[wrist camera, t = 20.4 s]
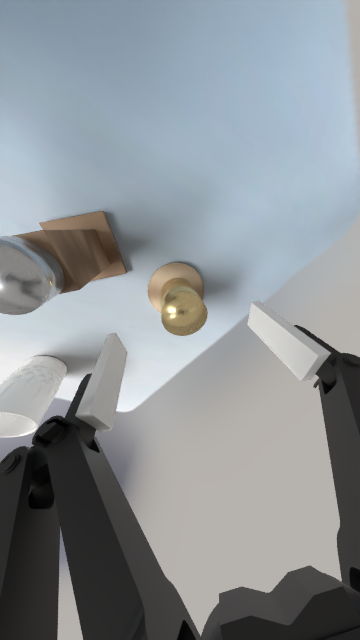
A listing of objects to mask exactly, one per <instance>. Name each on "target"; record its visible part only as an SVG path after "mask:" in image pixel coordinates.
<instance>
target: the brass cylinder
mask: <svg viewBox="0 0 360 640" xmlns="http://www.w3.org/2000/svg"><path fill="white" fill-rule="evenodd" d="M160 301H161V315H162V323H163V326H164V327H165V329H166V330H167V331H169V332H170V333H172V334H174V335H179V336H185V335H190V334H193V333H195V332H197V331H198V330H199V329H200V328H202V326H203V325H204V324H205V322H206V319H207V308H206V306H205V305H204V303H203V301H202V300H201V298H200V297H199V295H198V294H197V292H196V291H195V289H194V288H193V286H192V284H191V283H190V282H189V281H187V280H186V279H183V278H173V279H170V280H168V281H167V282H166V283H165V284H164V285H163V286H162V288H161V291H160Z"/></svg>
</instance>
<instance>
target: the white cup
mask: <svg viewBox="0 0 360 640" xmlns="http://www.w3.org/2000/svg"><path fill="white" fill-rule="evenodd" d="M66 373H67V367H66V365H65V364H64V363H63V362H62V361H60V360H58V359H56V358H53V357H49V356H35V357H32V358H29V359H28V360H27V361H26V362H25V363H24V364H23V365H22V366H21V367H19V368H18V369H17V370H16V371H15V372H13V373H12V374H11V375H10V376H9V377H7V378H6V379H5V380H4V381H3V382H2V383H1V384H0V437H18V436H23V435H27V434H30V433H32V432H34V431H35V430H36V429H37V428H38V426H39V424H40V422H41V421H42V419H43V417H44V415H45V413H46V411H47V409H48V408H49V406H50V404H51V402H52V400H53V398H54V397H55V394H56V392H57V391H58V389H59V387H60V384H61V382H62V380H63V378H64V377H65V375H66Z"/></svg>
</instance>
